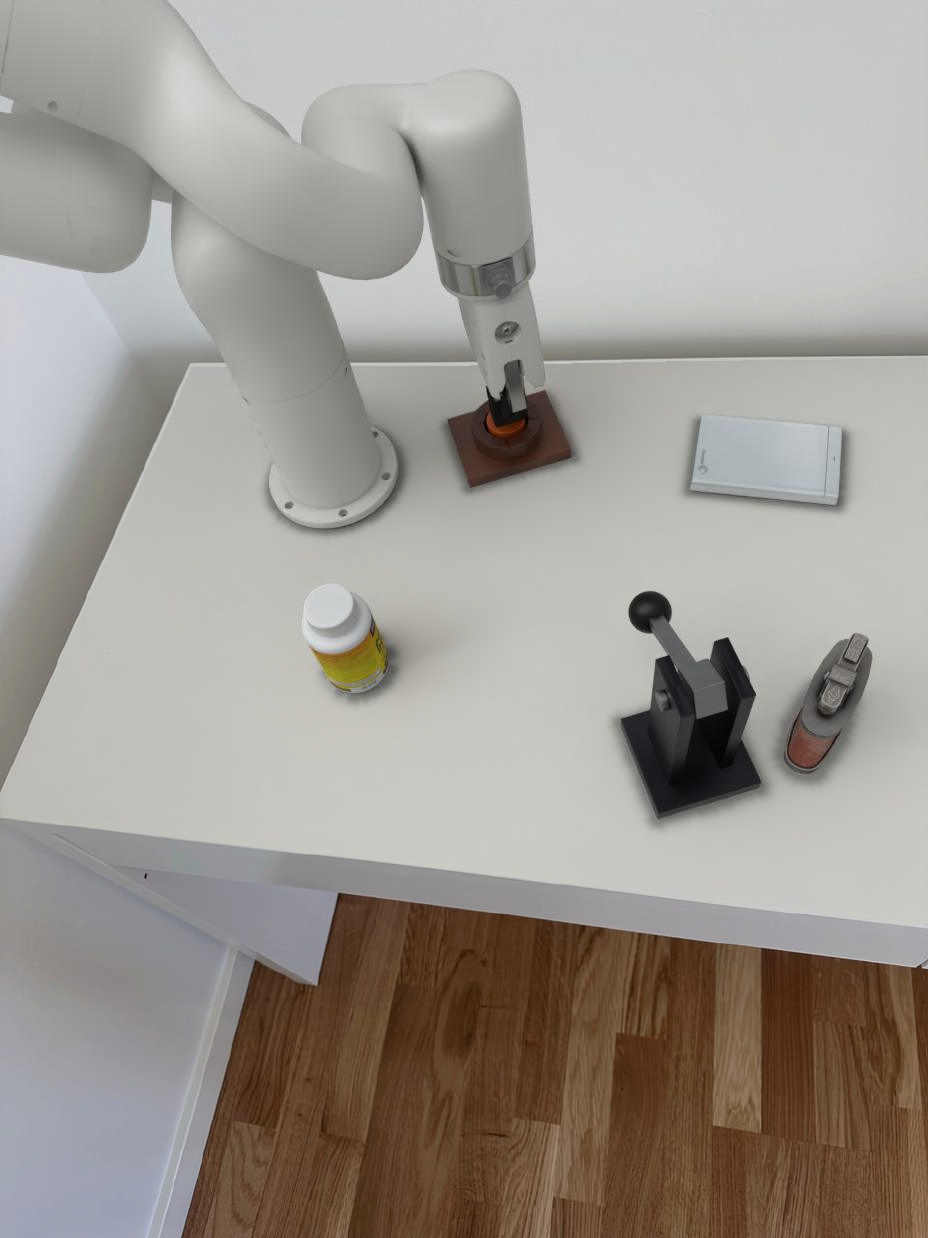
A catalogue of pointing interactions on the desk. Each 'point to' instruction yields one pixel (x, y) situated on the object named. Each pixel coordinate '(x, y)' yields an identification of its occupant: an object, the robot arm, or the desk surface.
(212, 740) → the desk surface
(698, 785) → the bracket
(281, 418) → the robot arm
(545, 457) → the button block
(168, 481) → the desk surface
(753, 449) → the hard drive
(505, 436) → the button
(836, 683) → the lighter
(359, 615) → the supplement bottle
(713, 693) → the lever
